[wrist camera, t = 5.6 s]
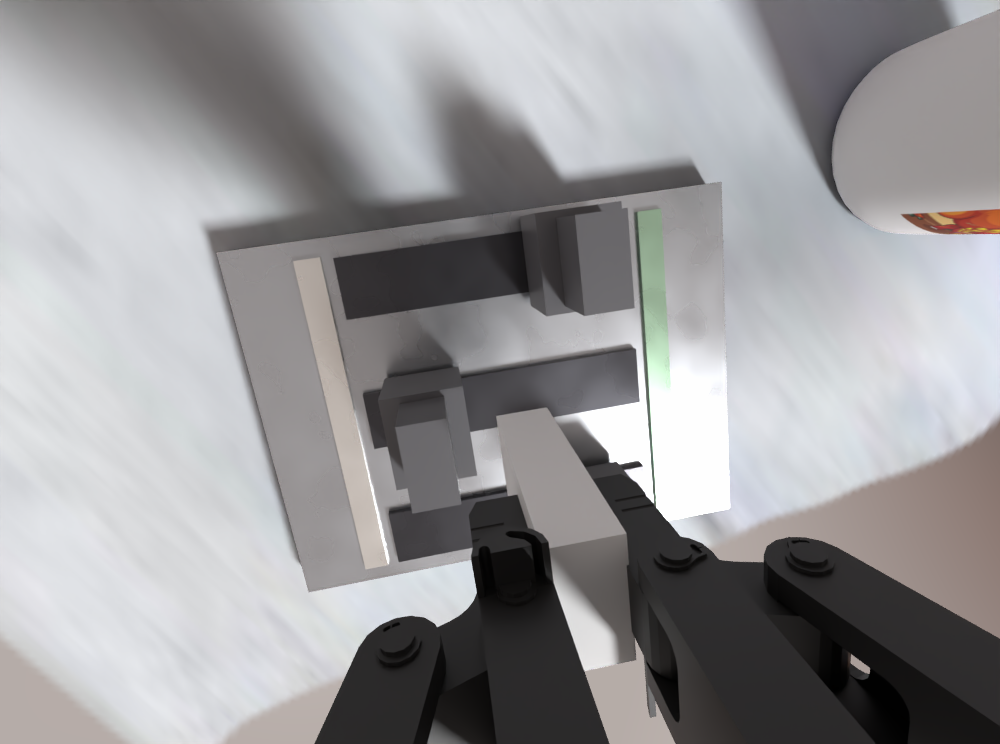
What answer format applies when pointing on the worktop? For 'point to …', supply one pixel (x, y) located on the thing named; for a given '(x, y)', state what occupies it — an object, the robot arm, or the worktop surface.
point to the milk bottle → (926, 136)
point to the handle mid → (428, 436)
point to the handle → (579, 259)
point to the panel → (479, 370)
